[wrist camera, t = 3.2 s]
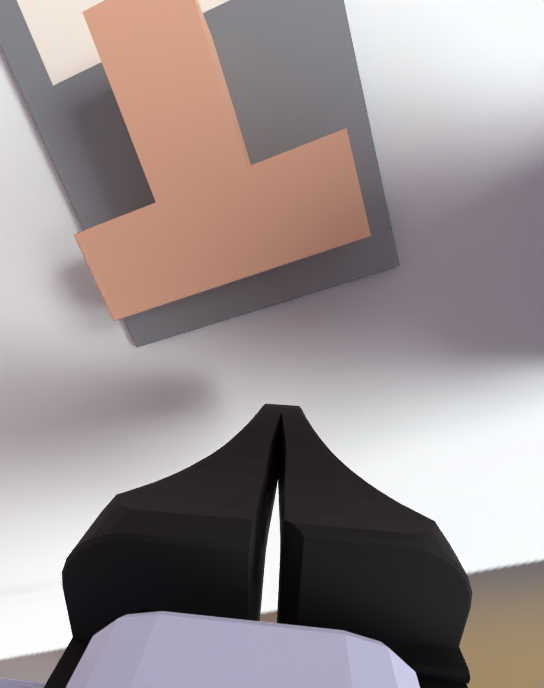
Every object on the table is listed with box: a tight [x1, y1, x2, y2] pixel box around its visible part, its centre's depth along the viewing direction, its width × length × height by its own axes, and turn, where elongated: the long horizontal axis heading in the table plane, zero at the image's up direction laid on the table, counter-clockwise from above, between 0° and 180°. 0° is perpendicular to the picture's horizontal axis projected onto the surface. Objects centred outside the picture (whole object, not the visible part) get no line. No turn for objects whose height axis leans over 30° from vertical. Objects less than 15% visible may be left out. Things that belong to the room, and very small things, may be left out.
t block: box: [74, 0, 371, 321], centre depth 10 cm, size 8×9×3 cm
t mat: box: [0, 0, 399, 347], centre depth 11 cm, size 20×12×1 cm, turn 18°
